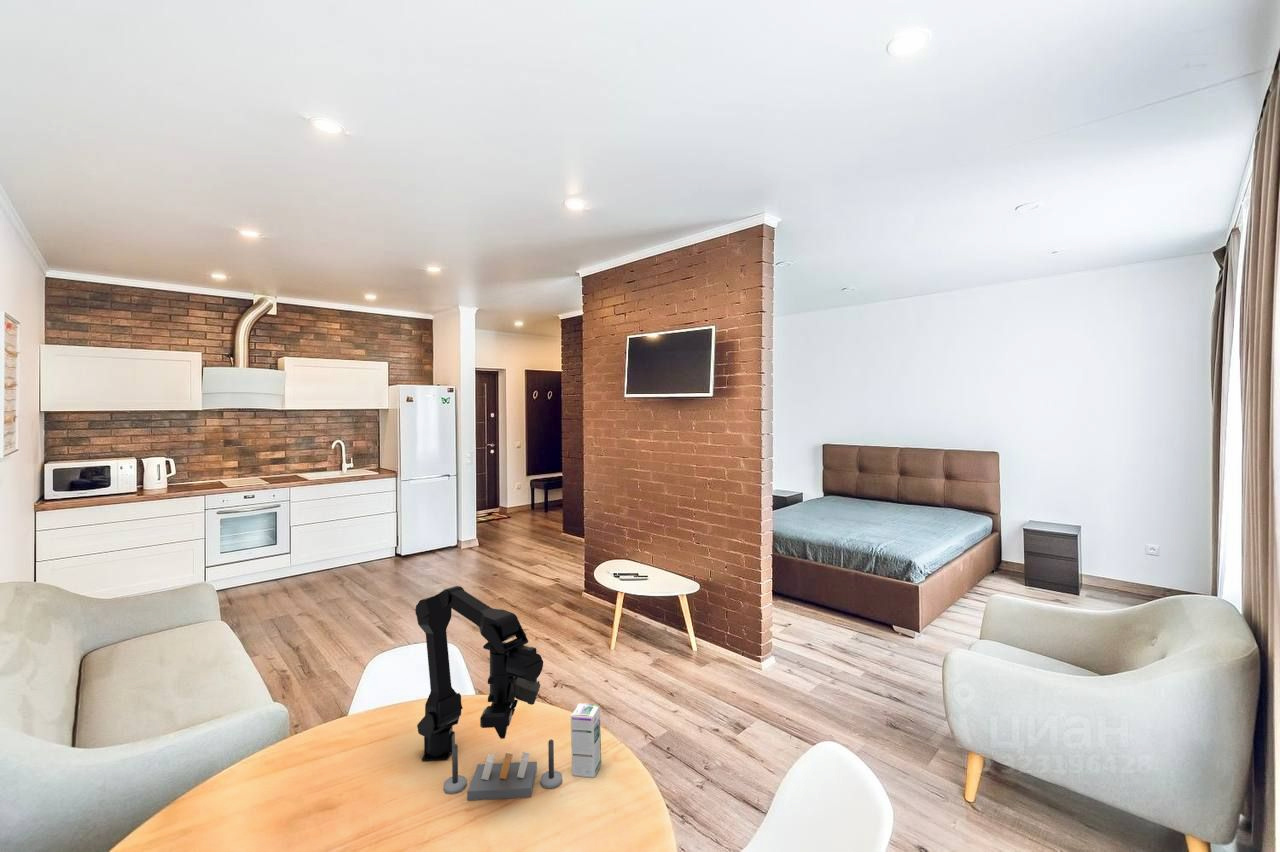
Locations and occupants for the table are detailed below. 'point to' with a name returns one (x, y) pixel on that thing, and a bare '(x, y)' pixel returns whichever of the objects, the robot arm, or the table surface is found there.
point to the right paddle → (523, 765)
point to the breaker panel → (502, 783)
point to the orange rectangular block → (505, 766)
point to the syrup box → (586, 740)
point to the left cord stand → (455, 776)
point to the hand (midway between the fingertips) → (502, 737)
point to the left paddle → (488, 767)
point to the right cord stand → (551, 771)
